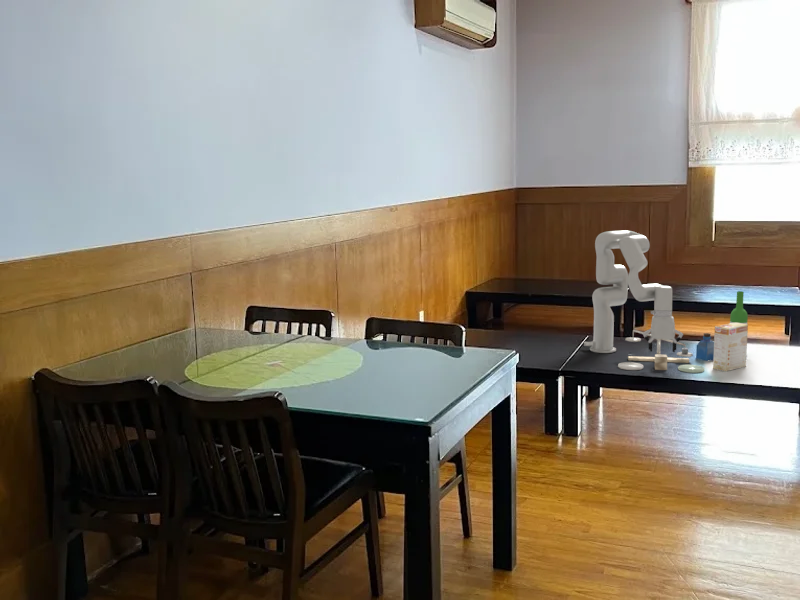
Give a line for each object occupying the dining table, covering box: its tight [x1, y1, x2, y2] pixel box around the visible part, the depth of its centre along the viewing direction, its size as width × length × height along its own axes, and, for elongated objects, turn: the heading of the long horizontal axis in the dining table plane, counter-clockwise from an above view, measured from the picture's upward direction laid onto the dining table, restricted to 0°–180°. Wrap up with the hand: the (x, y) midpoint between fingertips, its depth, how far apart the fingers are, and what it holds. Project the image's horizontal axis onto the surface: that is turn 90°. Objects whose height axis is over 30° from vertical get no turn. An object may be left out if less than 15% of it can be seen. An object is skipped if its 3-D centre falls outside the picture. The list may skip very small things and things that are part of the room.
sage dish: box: [677, 364, 705, 374], centre depth 357 cm, size 11×11×1 cm
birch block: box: [654, 353, 668, 371], centre depth 360 cm, size 5×5×6 cm
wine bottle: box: [729, 290, 749, 325], centre depth 385 cm, size 8×8×30 cm
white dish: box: [617, 361, 644, 371], centre depth 363 cm, size 11×11×1 cm
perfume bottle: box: [695, 332, 714, 362], centre depth 376 cm, size 6×6×12 cm
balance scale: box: [625, 329, 694, 364], centre depth 373 cm, size 30×7×15 cm, turn 76°
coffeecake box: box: [712, 322, 749, 372], centre depth 358 cm, size 15×7×20 cm, turn 123°
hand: (662, 351), depth 358 cm, fingers open, 9 cm apart
